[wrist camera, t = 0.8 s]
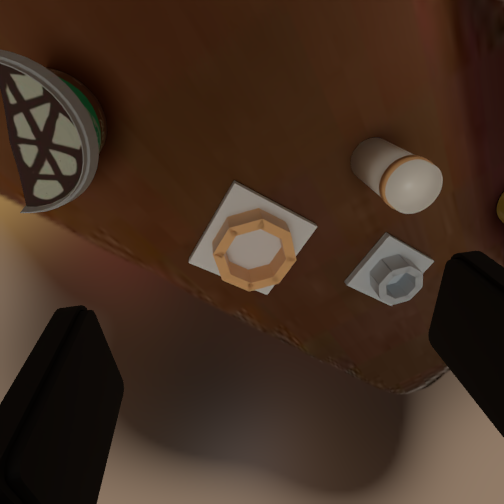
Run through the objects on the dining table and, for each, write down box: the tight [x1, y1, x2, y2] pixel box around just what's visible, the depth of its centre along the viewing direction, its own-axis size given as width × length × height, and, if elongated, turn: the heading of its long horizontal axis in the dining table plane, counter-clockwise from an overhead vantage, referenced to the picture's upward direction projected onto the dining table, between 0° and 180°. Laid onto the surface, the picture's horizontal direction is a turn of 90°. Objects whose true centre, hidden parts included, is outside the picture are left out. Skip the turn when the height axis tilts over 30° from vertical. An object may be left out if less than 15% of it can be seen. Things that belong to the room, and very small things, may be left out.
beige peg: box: [351, 137, 443, 214], centre depth 36 cm, size 5×5×10 cm
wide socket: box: [188, 180, 317, 295], centre depth 42 cm, size 12×12×4 cm
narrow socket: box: [345, 233, 434, 306], centre depth 47 cm, size 9×9×4 cm
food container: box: [0, 50, 107, 213], centre depth 30 cm, size 12×6×10 cm, turn 173°
